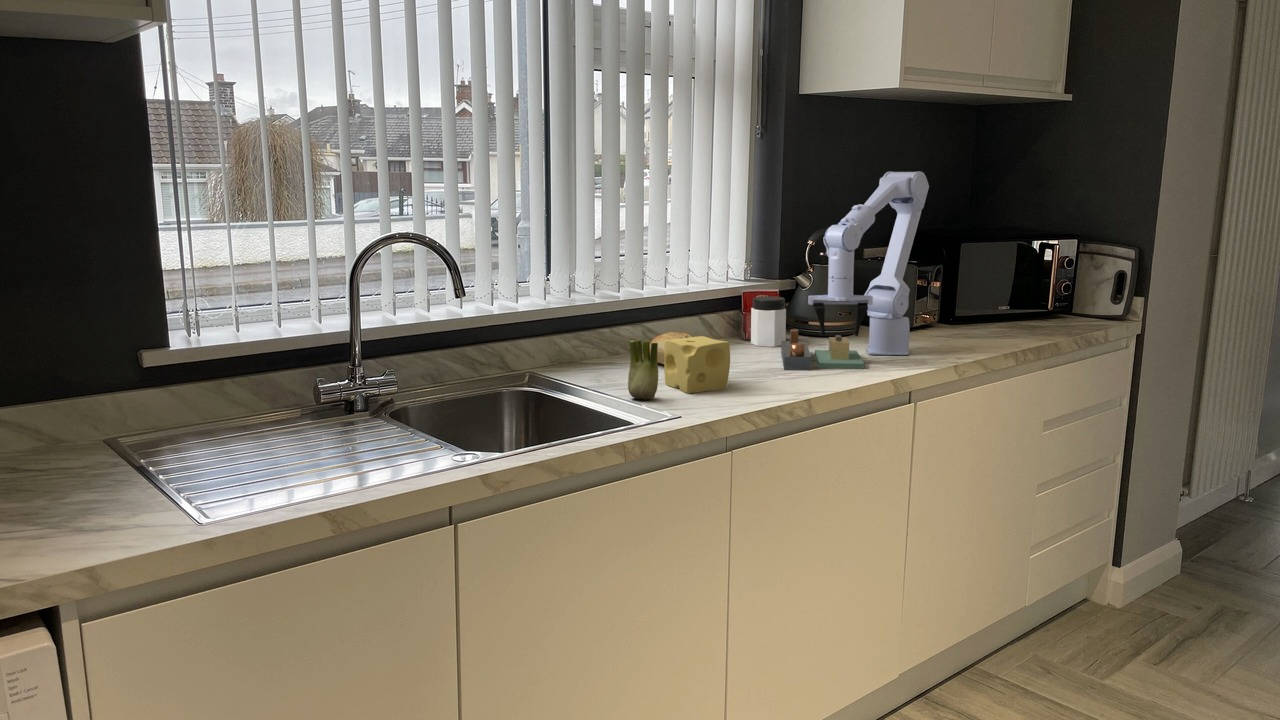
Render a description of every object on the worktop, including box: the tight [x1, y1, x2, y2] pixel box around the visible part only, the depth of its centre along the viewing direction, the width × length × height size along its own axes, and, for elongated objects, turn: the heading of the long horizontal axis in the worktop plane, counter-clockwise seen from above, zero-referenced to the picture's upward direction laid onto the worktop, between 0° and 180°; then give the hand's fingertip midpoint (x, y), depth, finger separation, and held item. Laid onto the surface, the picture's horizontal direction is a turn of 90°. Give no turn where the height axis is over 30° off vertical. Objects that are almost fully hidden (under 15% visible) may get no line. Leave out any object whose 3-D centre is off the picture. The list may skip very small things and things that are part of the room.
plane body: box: [780, 329, 812, 371], centre depth 230 cm, size 20×6×6 cm, turn 174°
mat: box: [814, 349, 865, 370], centre depth 229 cm, size 10×16×1 cm, turn 174°
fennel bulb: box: [627, 339, 659, 401], centre depth 194 cm, size 6×5×12 cm
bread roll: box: [650, 331, 693, 365], centre depth 226 cm, size 10×15×8 cm, turn 40°
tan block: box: [828, 334, 850, 360], centre depth 228 cm, size 7×4×5 cm, turn 174°
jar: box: [750, 295, 787, 348], centre depth 251 cm, size 9×8×12 cm
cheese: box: [663, 335, 731, 395], centre depth 204 cm, size 10×11×10 cm
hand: (839, 335), depth 228 cm, fingers open, 7 cm apart
